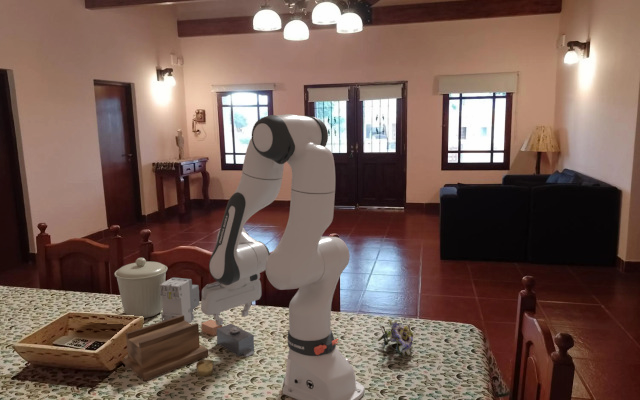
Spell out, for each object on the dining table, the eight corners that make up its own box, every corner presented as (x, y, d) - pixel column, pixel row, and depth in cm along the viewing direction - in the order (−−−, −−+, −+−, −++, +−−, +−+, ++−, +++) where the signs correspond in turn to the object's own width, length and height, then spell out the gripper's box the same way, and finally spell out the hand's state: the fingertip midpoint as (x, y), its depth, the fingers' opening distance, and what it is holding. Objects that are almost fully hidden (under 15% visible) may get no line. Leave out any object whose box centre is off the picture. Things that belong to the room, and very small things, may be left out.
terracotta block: (222, 332, 161) (222, 323, 160) (213, 336, 158) (212, 328, 157) (211, 327, 164) (210, 319, 164) (201, 331, 161) (201, 323, 161)
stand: (208, 355, 144) (207, 326, 143) (144, 381, 130) (142, 348, 129) (182, 338, 155) (180, 311, 154) (120, 360, 142) (118, 330, 140)
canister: (125, 327, 164) (121, 268, 160) (112, 311, 178) (107, 256, 175) (177, 315, 175) (173, 259, 171) (160, 300, 189) (157, 248, 185)
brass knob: (216, 373, 134) (215, 363, 134) (202, 379, 131) (202, 369, 131) (207, 367, 137) (207, 357, 137) (194, 373, 134) (193, 363, 134)
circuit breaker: (202, 312, 177) (200, 273, 174) (181, 328, 163) (178, 286, 161) (184, 310, 179) (182, 272, 176) (162, 326, 165) (159, 284, 163)
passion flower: (406, 371, 145) (408, 352, 137) (372, 358, 149) (372, 339, 140) (416, 339, 152) (419, 319, 144) (383, 328, 156) (384, 308, 147)
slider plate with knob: (257, 352, 146) (257, 333, 145) (242, 358, 142) (242, 339, 141) (228, 336, 157) (227, 319, 156) (214, 341, 153) (213, 324, 152)
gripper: (207, 289, 137) (208, 333, 139) (264, 272, 151) (264, 313, 154) (196, 283, 141) (197, 326, 144) (252, 267, 155) (252, 307, 158)
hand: (232, 320), depth 149 cm, fingers open, 8 cm apart
